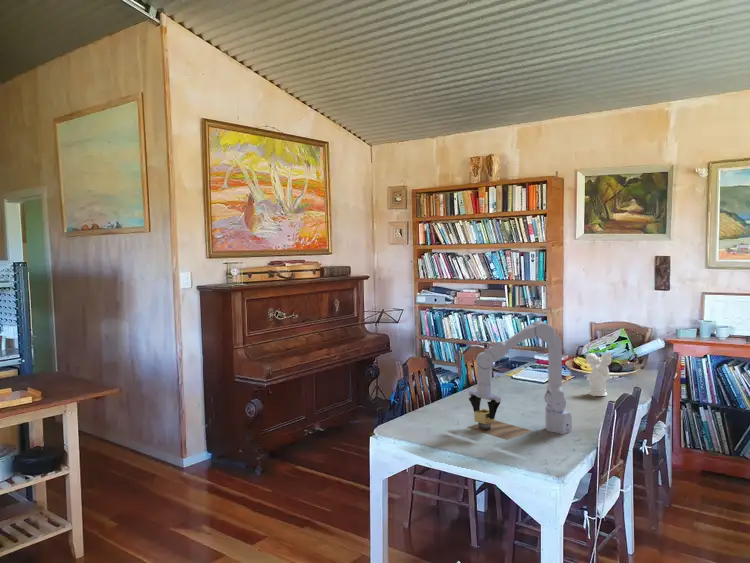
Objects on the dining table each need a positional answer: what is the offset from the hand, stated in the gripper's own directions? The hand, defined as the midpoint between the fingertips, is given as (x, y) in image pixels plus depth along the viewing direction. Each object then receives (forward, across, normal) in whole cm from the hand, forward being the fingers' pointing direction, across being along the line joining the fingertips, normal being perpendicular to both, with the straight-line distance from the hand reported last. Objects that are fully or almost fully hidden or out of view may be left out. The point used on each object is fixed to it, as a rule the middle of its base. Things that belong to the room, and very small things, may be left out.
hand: (484, 416), depth 227 cm
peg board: (+6, +4, +4) cm, 8 cm away
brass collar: (+2, 0, 0) cm, 2 cm away
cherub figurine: (+6, +2, +87) cm, 87 cm away
